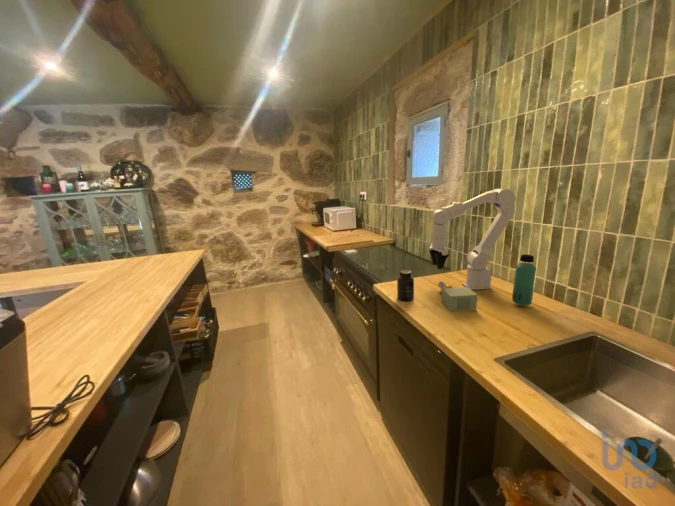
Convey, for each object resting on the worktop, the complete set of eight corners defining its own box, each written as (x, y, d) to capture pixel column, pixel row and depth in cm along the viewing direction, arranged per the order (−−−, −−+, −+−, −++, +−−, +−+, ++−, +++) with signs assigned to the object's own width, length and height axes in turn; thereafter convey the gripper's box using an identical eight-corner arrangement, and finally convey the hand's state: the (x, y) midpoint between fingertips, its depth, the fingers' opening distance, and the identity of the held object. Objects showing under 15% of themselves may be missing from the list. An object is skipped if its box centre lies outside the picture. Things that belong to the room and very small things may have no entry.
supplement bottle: (414, 295, 120) (415, 269, 117) (413, 302, 113) (413, 274, 110) (398, 294, 122) (398, 268, 119) (396, 300, 116) (396, 273, 113)
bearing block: (465, 300, 112) (466, 286, 111) (476, 309, 105) (477, 294, 103) (441, 302, 112) (442, 288, 111) (449, 311, 104) (450, 296, 103)
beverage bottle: (532, 304, 106) (539, 254, 101) (529, 311, 102) (536, 258, 97) (513, 300, 111) (519, 252, 106) (509, 306, 106) (515, 255, 101)
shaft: (436, 289, 124) (436, 280, 123) (446, 289, 124) (446, 279, 123) (450, 303, 110) (450, 292, 109) (461, 302, 110) (462, 292, 109)
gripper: (424, 234, 130) (423, 262, 134) (436, 241, 116) (435, 272, 120) (439, 234, 131) (438, 261, 134) (453, 240, 116) (451, 271, 120)
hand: (437, 266), depth 127 cm, fingers open, 5 cm apart
